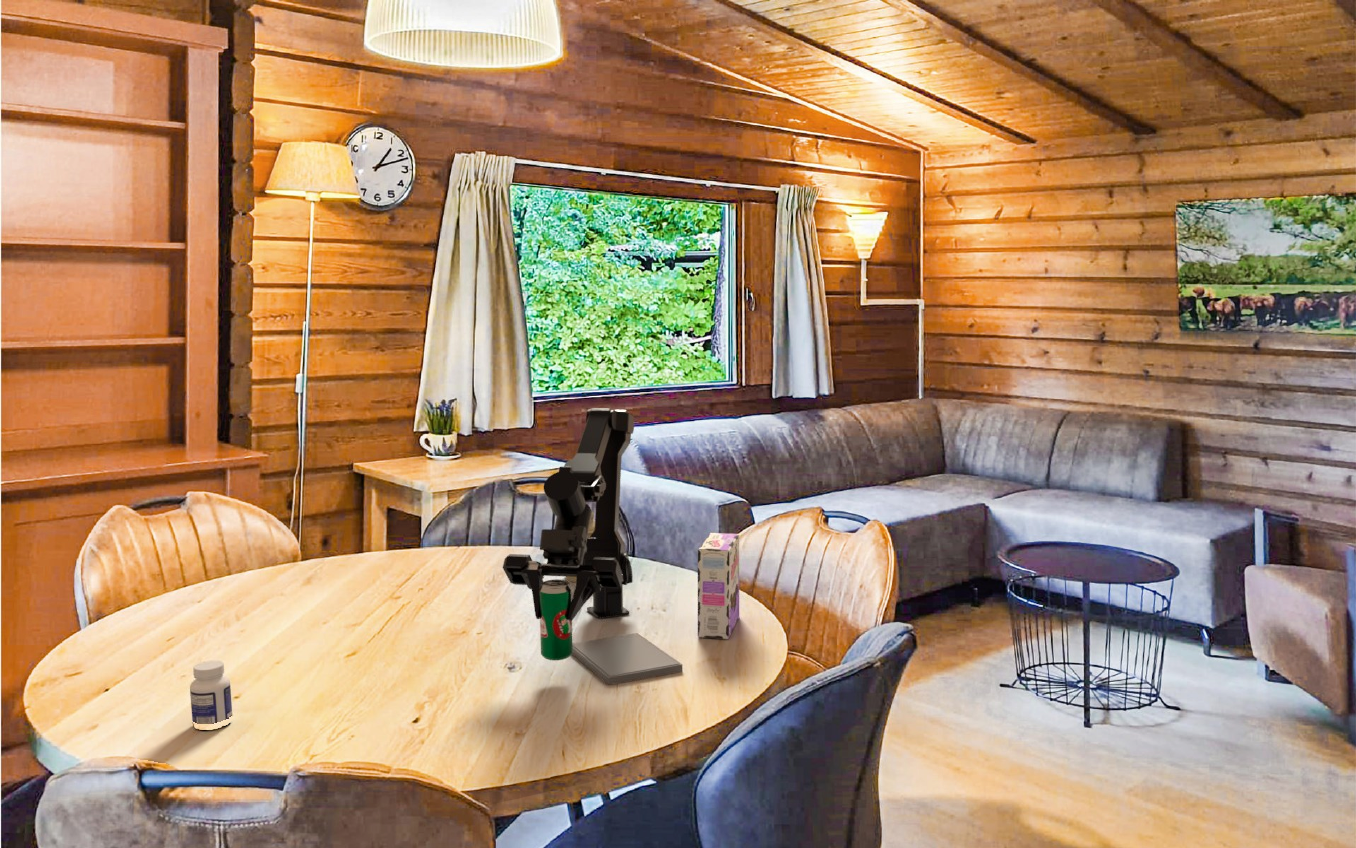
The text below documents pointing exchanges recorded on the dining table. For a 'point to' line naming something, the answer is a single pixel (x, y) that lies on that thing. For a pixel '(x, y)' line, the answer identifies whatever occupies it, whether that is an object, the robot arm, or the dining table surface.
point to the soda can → (555, 620)
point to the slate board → (625, 658)
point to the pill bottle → (210, 693)
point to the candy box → (718, 585)
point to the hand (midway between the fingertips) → (553, 618)
